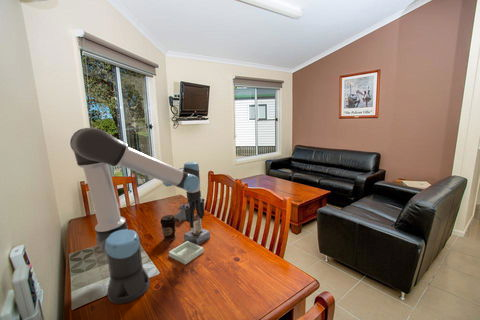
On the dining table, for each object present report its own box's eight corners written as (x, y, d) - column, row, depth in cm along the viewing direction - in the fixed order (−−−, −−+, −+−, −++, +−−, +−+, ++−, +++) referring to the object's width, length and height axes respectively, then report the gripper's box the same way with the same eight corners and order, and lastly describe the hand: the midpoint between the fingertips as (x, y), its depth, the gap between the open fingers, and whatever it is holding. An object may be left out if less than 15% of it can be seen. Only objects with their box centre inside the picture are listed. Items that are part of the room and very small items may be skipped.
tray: (185, 264, 106) (184, 260, 106) (169, 256, 113) (168, 251, 113) (203, 252, 116) (203, 247, 116) (187, 244, 123) (187, 240, 123)
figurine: (183, 214, 163) (181, 200, 161) (190, 218, 156) (189, 203, 154) (172, 218, 157) (170, 203, 155) (179, 222, 150) (178, 207, 148)
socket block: (196, 245, 122) (196, 239, 121) (184, 240, 127) (183, 233, 127) (209, 237, 130) (209, 231, 129) (197, 232, 135) (197, 226, 135)
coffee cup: (172, 243, 125) (170, 221, 123) (159, 242, 127) (156, 220, 125) (180, 235, 134) (178, 214, 131) (167, 234, 135) (164, 213, 133)
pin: (197, 241, 126) (195, 218, 123) (192, 239, 128) (190, 216, 125) (202, 238, 129) (200, 215, 126) (197, 236, 131) (195, 213, 129)
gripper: (185, 196, 114) (189, 239, 119) (209, 187, 128) (212, 226, 132) (176, 194, 119) (180, 235, 123) (200, 185, 132) (202, 223, 136)
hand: (196, 230), depth 128 cm, fingers closed on pin, 4 cm apart
